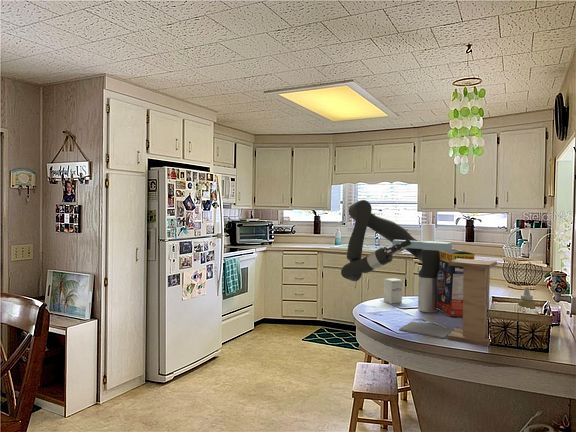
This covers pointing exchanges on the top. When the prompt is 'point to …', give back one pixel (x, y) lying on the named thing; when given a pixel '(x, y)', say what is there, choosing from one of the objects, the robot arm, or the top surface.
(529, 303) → the squeeze bottle
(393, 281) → the supplement box
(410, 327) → the mat
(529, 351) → the top surface
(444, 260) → the cereal box
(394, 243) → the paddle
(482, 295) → the wooden pedestal stand
